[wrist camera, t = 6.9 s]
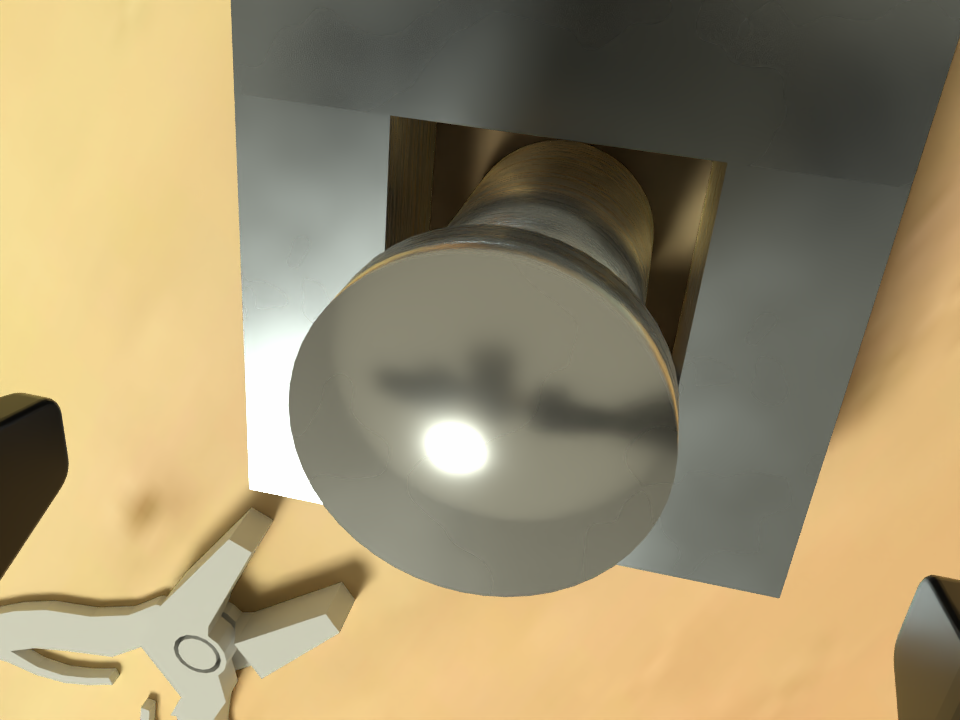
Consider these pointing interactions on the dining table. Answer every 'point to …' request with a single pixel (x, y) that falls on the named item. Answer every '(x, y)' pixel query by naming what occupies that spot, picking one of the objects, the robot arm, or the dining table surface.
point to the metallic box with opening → (625, 124)
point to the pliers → (181, 630)
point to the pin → (499, 385)
